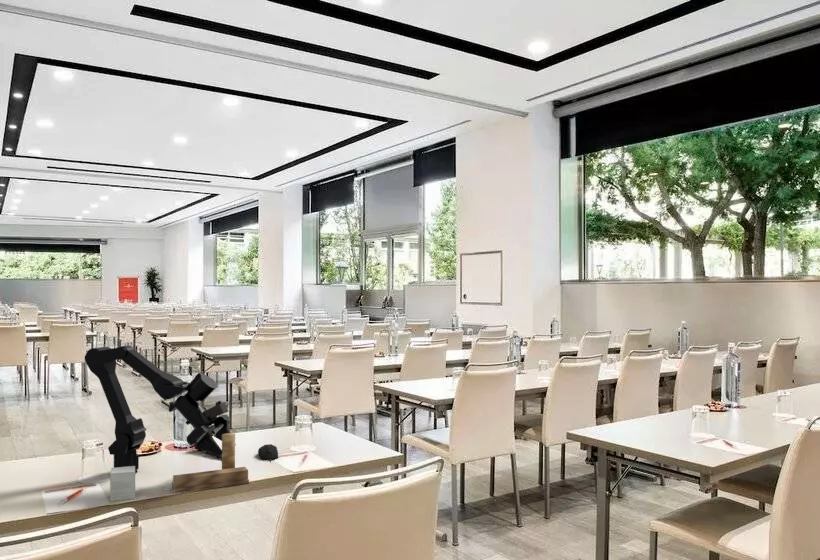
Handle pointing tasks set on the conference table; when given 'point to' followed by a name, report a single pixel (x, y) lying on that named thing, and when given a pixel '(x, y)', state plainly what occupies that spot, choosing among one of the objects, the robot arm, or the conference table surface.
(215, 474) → the ridge
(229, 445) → the dowel
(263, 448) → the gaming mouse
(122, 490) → the product box
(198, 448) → the microphone
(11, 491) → the conference table surface
